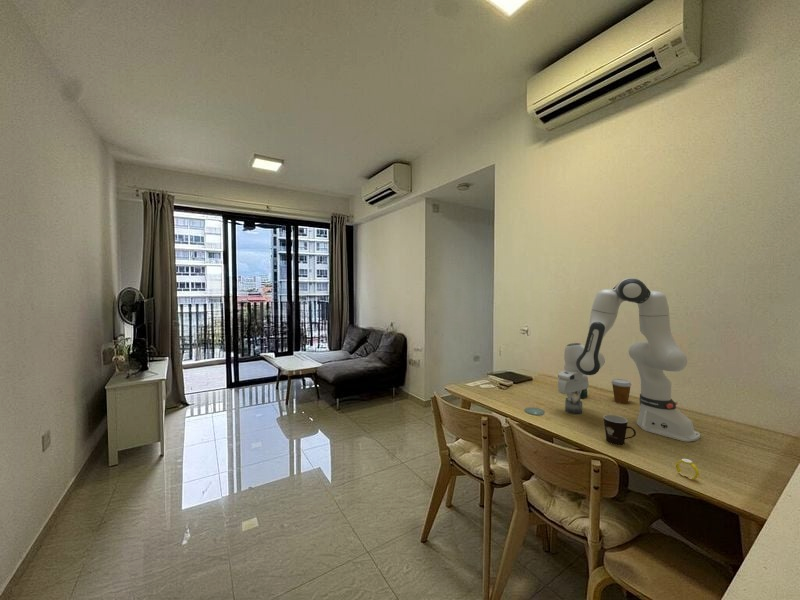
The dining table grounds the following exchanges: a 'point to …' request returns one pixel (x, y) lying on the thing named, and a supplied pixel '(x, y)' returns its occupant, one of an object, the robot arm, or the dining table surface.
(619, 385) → the disposable coffee cup
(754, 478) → the dining table surface
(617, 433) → the coffee mug
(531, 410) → the coaster
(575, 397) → the cap
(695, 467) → the watch
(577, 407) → the blue-gray holder
